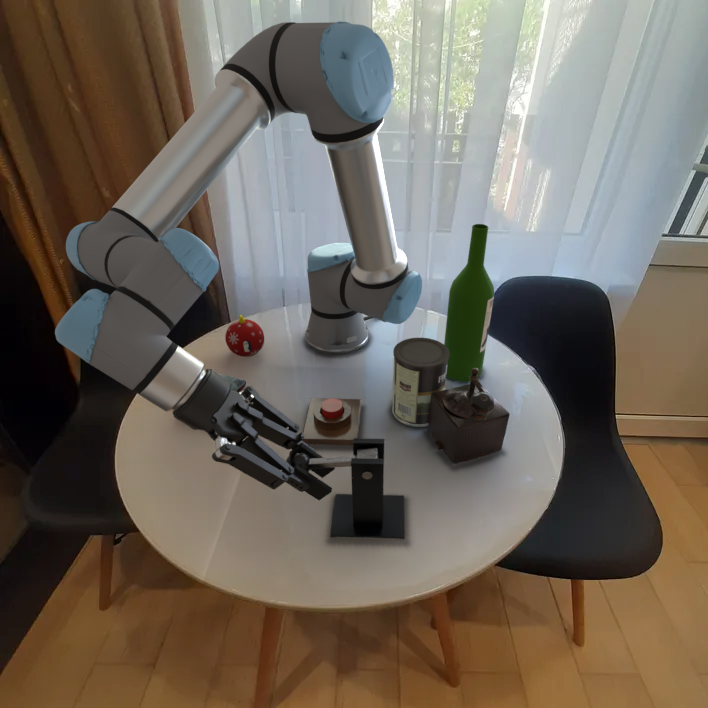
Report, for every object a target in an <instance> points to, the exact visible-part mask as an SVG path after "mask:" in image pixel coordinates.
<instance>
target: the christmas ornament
mask: <svg viewBox="0 0 708 708" xmlns="http://www.w3.org/2000/svg"><path fill="white" fill-rule="evenodd" d="M224 338H225V343H226V347H227V348H228V350H229V351H230V352H232V353H233V354H234V355H235V356H238V357H243V358H249V357H252V356H254V355H256V354H258V353H259V352H260V351H261V350H262V349H263V347H264V344H265V333H264V331H263V329H262V327H261V325H259V323H257V322H256V321H254V320H251V319H248V318H247V319H246V318H245V317H244V316H243V315H242V314H240V315H239V318H238V320H235V321H233V322H232V323H231V324H229V326H228V328H227V329H226V331H225V337H224Z"/></svg>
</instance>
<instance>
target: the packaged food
mask: <svg viewBox="0 0 708 708" xmlns="http://www.w3.org/2000/svg"><path fill="white" fill-rule="evenodd" d="M218 374H219V375H221V376H222V377H223V378H225V379H226V380H228V381H229V382H230V383H231V390H232V391H236V392H238V393H240V392H242V391H243V390H244V389H245V388H246V385H247V384H248V383H247V380H245V379H242V378H239V377H236V376H231V375H229V374H228V375H227V374H221V373H218Z"/></svg>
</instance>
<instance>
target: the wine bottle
mask: <svg viewBox="0 0 708 708" xmlns="http://www.w3.org/2000/svg"><path fill="white" fill-rule="evenodd" d="M489 229H490V228H489V226H488V225H486V224H483V223H475V224H473V225H472V226H471V233H470V234H471V235H470V243H469V250H468V256H467V263H466V265H465V266H464V267H463V269H461V271H460V273H458V275H456V276H455V278H454V280H453V281H452V283H451V285H450V288H449V292H448V303H447V313H446V323H445V332H444V341H443V342H444V343H443V344H444V345H445V346H446V347H447V348H448V350H449V359H448V365H447V374H446V378H447V379H450V380H452V381H456V382H461V383H465V382H466V383H468V382H471V380H470V378H469V377H470V375H471V374H472V373H471V370H472V369H473V368H478V370H479V373H478V378H479V377H481V375H482V373H483V367H484V361H485V356H486V355H485V354H486V349H487V348H486V347H487V343H488V336H489V332H490V331H489V330H490V324H491V318H492V313H493V305H494V299H495V286H494V283H493V282H492V280H491V278H490V275H489V274H488V271H487V269H486V267H485V257H486V249H487V241H488V235H489V234H488V233H489Z"/></svg>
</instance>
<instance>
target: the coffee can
mask: <svg viewBox="0 0 708 708" xmlns="http://www.w3.org/2000/svg"><path fill="white" fill-rule="evenodd" d="M392 353H393V379H392V383H393V384H392V406H391V411H392V412H391V413H392V415H393V416H394V418H395V419H396V420H397V421H398V422H399V423H401V424H403V425H406V426H408V427H413V428H425V427H428V423H429V412H430V401H431V394H432V393H434V392H438V391H442V390H446V384H447V383H446V382H447V376H446V374H447V365H448V359H449V350H448V348H447V347H446V346H445V345H444V343H442V342H440V341H438V340H436V339H432V338H430V337H429V338H428V337H410V338H406V339H403V340H401V341H399V342H397V344H396V345H395V346H394V347H393V352H392Z"/></svg>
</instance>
